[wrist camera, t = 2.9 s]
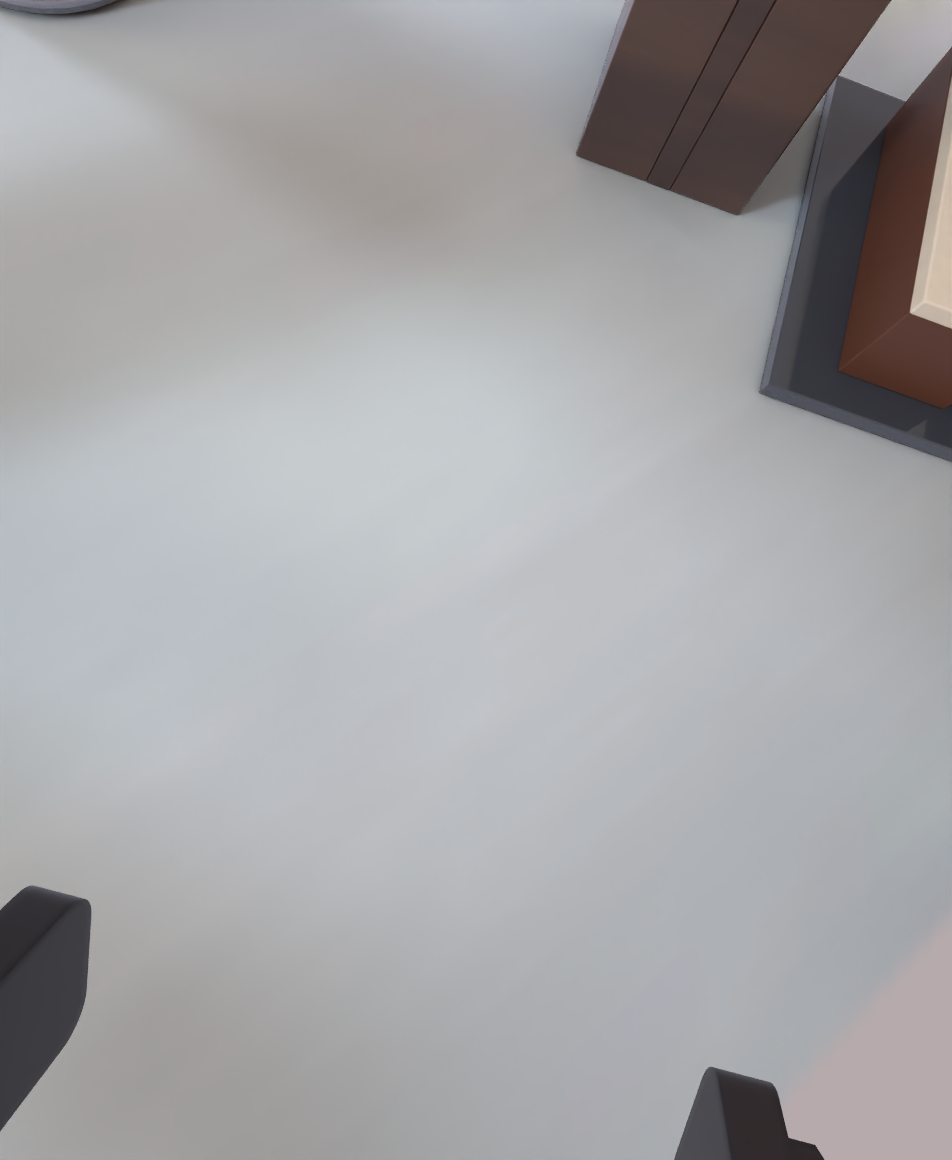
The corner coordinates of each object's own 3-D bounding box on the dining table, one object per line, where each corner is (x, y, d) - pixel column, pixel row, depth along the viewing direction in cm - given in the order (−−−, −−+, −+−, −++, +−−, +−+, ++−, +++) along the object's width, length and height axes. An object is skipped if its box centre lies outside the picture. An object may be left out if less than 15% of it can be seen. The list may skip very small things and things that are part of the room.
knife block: (738, 216, 34) (905, -19, 24) (575, 155, 33) (676, -112, 23) (771, 82, 36) (941, -190, 26) (617, 22, 35) (728, -281, 25)
